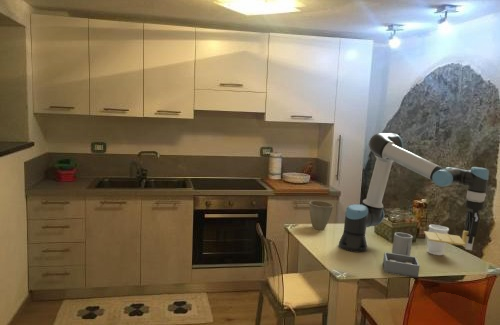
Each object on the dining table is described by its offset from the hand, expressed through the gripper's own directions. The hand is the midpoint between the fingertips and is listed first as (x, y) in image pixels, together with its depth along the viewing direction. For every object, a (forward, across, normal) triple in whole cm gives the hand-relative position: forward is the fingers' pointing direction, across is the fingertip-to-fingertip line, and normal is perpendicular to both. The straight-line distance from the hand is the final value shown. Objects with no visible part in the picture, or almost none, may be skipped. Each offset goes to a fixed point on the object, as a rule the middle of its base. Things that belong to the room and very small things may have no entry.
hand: (467, 248), depth 198 cm
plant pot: (+15, +47, +73) cm, 88 cm away
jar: (+15, +32, +7) cm, 36 cm away
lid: (-3, 0, +9) cm, 9 cm away
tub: (+15, -5, +30) cm, 33 cm away
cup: (+15, +16, +27) cm, 35 cm away
